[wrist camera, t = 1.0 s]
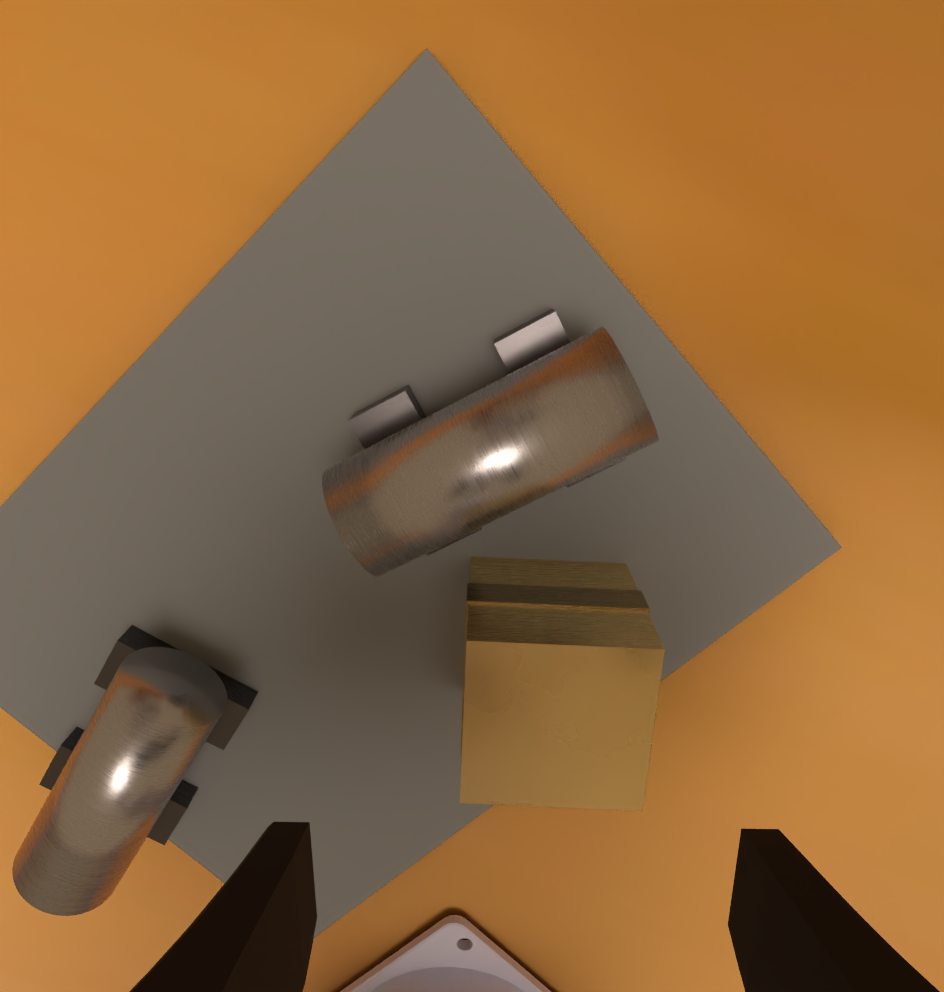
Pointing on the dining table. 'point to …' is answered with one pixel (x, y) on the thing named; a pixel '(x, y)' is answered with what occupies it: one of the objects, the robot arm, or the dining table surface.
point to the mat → (303, 512)
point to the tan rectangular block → (557, 685)
